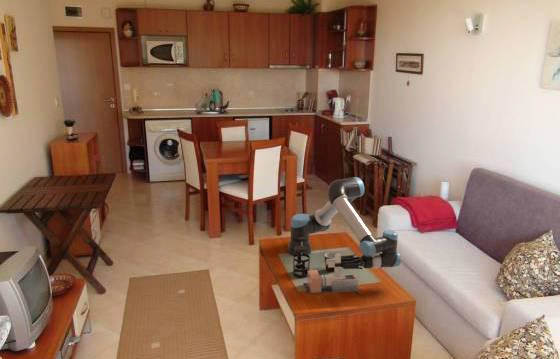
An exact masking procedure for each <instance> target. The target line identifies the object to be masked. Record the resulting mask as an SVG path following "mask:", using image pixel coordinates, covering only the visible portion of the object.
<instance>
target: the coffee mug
mask: <svg viewBox="0 0 560 359" xmlns="http://www.w3.org/2000/svg"><path fill="white" fill-rule="evenodd" d="M335 254H338V253H337V252H326V253H324V263H325V264H324V266H325V271H327V272H329V273H334V269H335V267H329V268H328V264H326V259H335Z"/></svg>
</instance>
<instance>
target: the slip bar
mask: <svg viewBox="0 0 560 359" xmlns="http://www.w3.org/2000/svg"><path fill="white" fill-rule="evenodd" d="M341 256H342V254H341V253H337V254H335V262H338V261H341ZM320 277H321V283H322V285H323V286H330V285H332V280H346V277H345V276H344V274H343V273H341V267H335V269H334V272H333V274H321V275H320Z"/></svg>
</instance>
